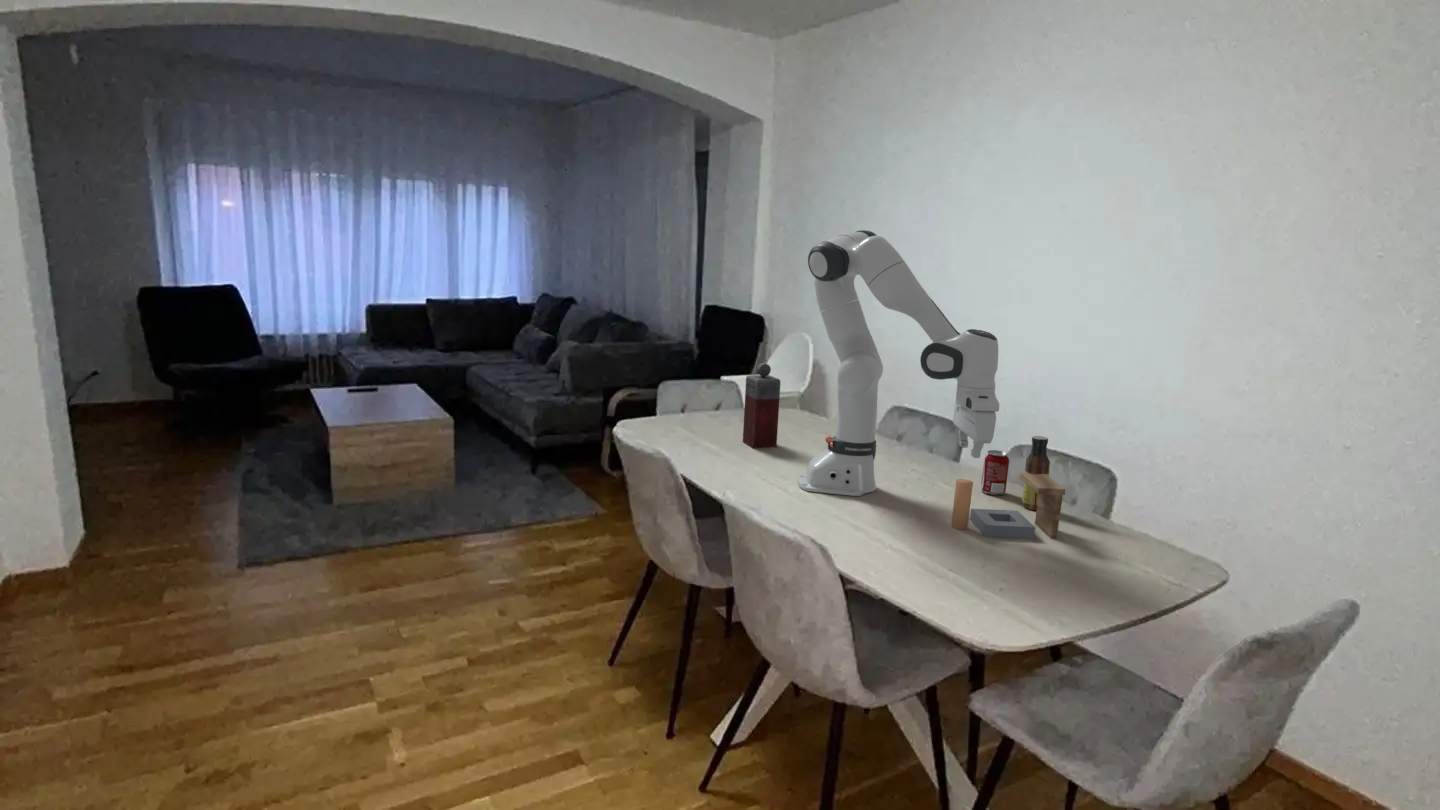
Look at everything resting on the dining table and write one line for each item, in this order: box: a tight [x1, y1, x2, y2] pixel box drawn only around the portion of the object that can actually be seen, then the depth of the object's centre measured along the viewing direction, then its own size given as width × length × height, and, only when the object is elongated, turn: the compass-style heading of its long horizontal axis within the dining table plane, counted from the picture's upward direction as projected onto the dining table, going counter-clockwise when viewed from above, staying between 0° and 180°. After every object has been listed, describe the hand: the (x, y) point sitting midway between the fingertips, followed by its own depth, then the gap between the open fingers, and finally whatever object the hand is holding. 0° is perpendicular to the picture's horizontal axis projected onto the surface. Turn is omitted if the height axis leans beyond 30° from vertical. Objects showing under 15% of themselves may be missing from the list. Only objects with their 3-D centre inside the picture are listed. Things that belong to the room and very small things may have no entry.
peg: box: [950, 478, 974, 531], centre depth 197 cm, size 4×4×12 cm
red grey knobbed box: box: [742, 362, 782, 449], centre depth 268 cm, size 9×11×28 cm
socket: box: [969, 508, 1036, 540], centre depth 198 cm, size 12×12×3 cm
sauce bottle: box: [1021, 435, 1051, 511], centre depth 214 cm, size 6×6×20 cm
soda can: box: [980, 449, 1010, 496], centre depth 227 cm, size 7×7×12 cm
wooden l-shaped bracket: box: [1019, 472, 1066, 539], centre depth 197 cm, size 6×12×13 cm, turn 0°
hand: (969, 452), depth 195 cm, fingers open, 8 cm apart
